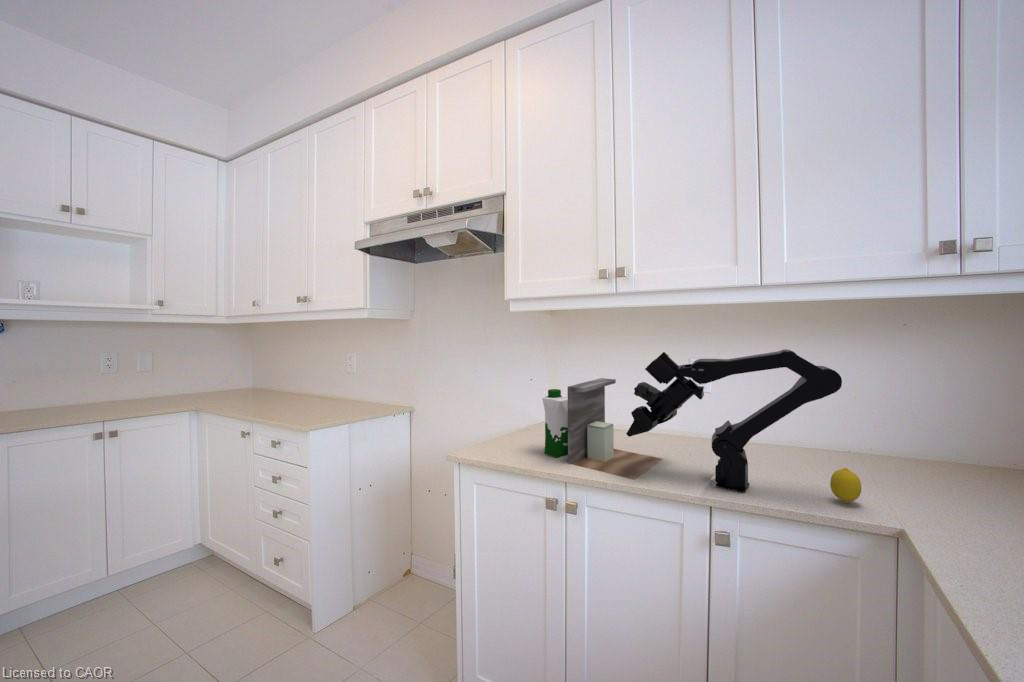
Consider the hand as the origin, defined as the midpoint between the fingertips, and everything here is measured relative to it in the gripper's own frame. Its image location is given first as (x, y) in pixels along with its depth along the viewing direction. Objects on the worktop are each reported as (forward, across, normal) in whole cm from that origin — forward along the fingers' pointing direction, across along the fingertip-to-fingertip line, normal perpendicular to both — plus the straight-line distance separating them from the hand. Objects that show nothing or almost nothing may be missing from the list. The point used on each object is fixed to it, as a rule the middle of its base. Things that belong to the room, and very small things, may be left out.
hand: (634, 431), depth 119 cm
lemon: (-25, -8, +41) cm, 48 cm away
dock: (+12, 0, +3) cm, 12 cm away
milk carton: (+24, +2, -9) cm, 26 cm away
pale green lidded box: (+14, 0, -1) cm, 14 cm away
